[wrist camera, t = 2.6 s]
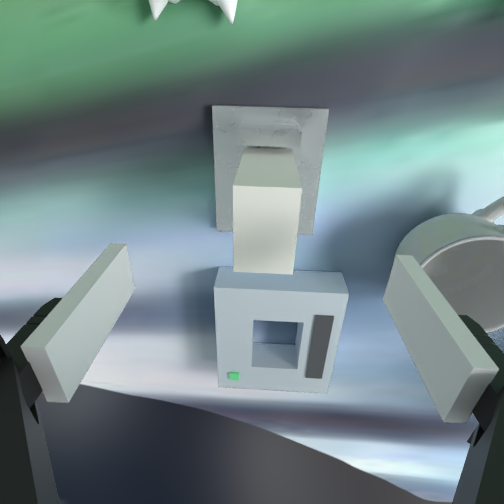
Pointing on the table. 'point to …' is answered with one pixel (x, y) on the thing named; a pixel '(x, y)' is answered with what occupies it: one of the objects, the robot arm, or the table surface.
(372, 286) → the table surface
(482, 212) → the teacup
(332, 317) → the switch box
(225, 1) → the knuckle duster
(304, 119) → the holster
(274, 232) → the plug
